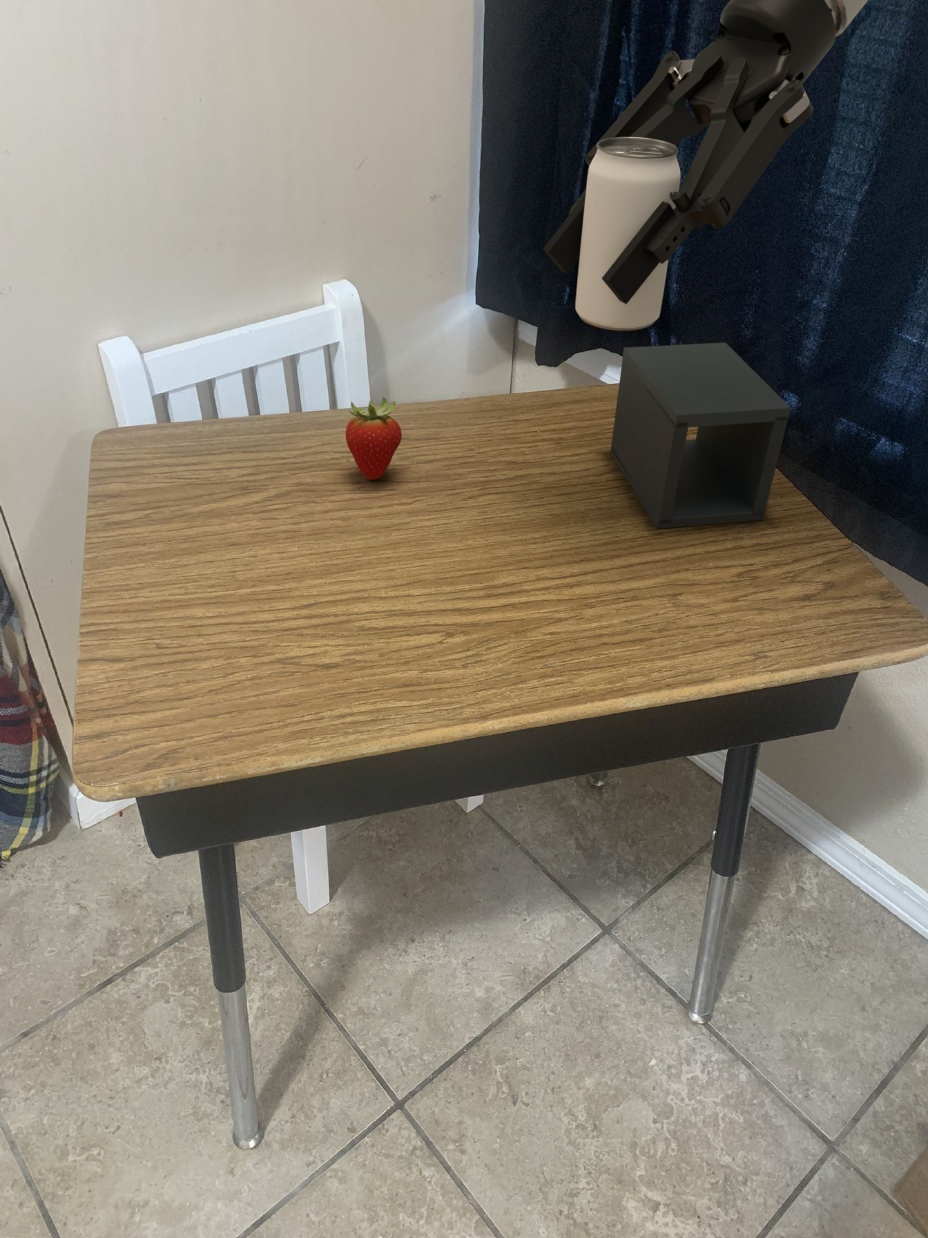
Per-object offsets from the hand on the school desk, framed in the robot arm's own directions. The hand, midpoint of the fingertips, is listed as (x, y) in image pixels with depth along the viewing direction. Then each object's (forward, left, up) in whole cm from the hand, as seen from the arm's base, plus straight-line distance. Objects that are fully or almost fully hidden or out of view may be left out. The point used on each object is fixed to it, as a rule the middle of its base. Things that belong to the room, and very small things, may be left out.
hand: (584, 275), depth 71 cm
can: (-1, -4, -4) cm, 5 cm away
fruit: (+18, +6, -23) cm, 30 cm away
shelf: (-1, -16, -23) cm, 27 cm away
